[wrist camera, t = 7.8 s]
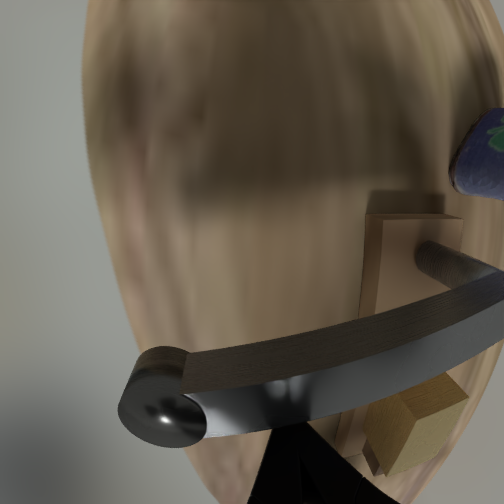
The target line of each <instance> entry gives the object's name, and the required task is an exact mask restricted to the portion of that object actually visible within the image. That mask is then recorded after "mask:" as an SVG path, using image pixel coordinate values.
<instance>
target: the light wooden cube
mask: <svg viewBox="0 0 504 504" xmlns="http://www.w3.org/2000/svg"><path fill="white" fill-rule="evenodd" d="M468 399H469V396H468V395H467V394H466V393H465V392H464V391H463V390H462V389H461V388H460V387H459V385H458V384H457V383H456V382H455V381H454V380H453V379H452V378H451V377H450V376H449V375H448V374H447V373H446V372H443V373H441V374H439V375H437V376H435V377H433V378H431V379H429V380H427V381H424V382H422V383H420V384H418V385H415V386H413V387H411V388H408V389H406V390H403V391H401V392H399V393H396V394H393V395H391V396H388V397H386V398H383V399H380V400H377V401H375V402H372V403H369V406H368V410H367V413H366V416H365V420H364V423H363V426H362V430H363V432H364V434H365V436H366V438H367V440H368V442H369V444H370V446H371V448H372V450H373V452H374V454H375V456H376V458H377V460H378V462H379V464H380V466H381V468H382V470H383V472H384V474H385V476H386V477H389V476H391V475H394V474H397V473H399V472H402V471H404V470H407V469H409V468H412V467H414V466H417V465H419V464H421V463H423V462H426V461H428V460H430V459H432V458H434V457H435V456H436V455H437V453H438V452H439V450H440V449H441V447H442V446H443V444H444V442H445V441H446V439H447V437H448V436H449V434H450V432H451V431H452V429H453V427H454V426H455V424H456V422H457V420H458V418H459V417H460V415H461V413H462V411H463V409H464V407H465V405H466V403H467V401H468Z"/></svg>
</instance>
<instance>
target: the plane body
mask: <svg viewBox="0 0 504 504" xmlns="http://www.w3.org/2000/svg"><path fill="white" fill-rule="evenodd" d="M462 228H463V219H461V218H457V217H454V216H450V215H446V214H366V222H365V246H364V262H363V275H362V287H361V297H360V306H359V315H358V319H360V318H364V317H367V316H371V315H374V314H378V313H381V312H385V311H388V310H391V309H394V308H398V307H401V306H404V305H407V304H410V303H413V302H416V301H419V300H422V299H425V298H428V297H431V296H434V295H437V294H440V293H442V292H445V291H448V290H451V289H450V288H448V287H446V286H445V285H443V284H441V283H440V282H438V281H436V280H435V279H433V278H431V277H429V276H428V275H426V274H424V273H423V272H421V271H419V269H418V268H417V265H416V255H417V252H418V250H419V248H420V246H421V245H422V244H423V243H425V242H426V241H434V242H437V243H439V244H442V245H444V246H447V247H449V248H452V249H454V250H457V251H459V252H460V247H461V239H462ZM368 406H369V404H366V405H363V406H360V407H357V408H354V409H350V410H347V411H344V412H342V413H341V417H340V422H339V426H338V430H337V434H336V438H335V441H334V443H335V446H336V448H337V451H338V453H339V454H340V455H341V456H342V457H343V458H346V457H350V456H354V455H358V454H362V453H363V454H364V456H365V458H366V461H367V463H368V465H369V467H370V469H371V472H372V474H373V476H377V475H380V474H383V473H384V472H383V470H382V468H381V466H380V464H379V462H378V460H377V458H376V456H375V454H374V452H373V450H372V448H371V446H370V444H369V442H368V440H367V438H366V436H365V434H364V432H363V430H362V426H363V423H364V420H365V416H366V413H367V410H368Z"/></svg>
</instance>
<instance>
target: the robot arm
mask: <svg viewBox="0 0 504 504" xmlns="http://www.w3.org/2000/svg"><path fill="white" fill-rule="evenodd" d="M362 477H363V475H362V474H361V473H359V472H358V471H357V470H356V469H355V468H354V467H353V466H352V465H351V464H350V463H349V462H347V461H346V460H345V459H344V458H343V457H342V456H341V455H340V454H339V453H338V452H337V451H336V450H335V449H334V448H333V447H332V446H331V445H329V444H328V443H327V442H326V441H325V440H324V439H323V438H322V437H321V436H320V435H319V434H318V433H317V432H316V431H315V430H314V429H313V428H312V427H311V426H310V425H309V424H308V423H307V422H303V423H298V424H294V425H289V426H284V427H279V428H274V429H272V430H271V434H270V437H269V440H268V443H267V446H266V450H265V453H264V456H263V459H262V462H261V465H260V468H259V471H258V474H257V477H256V480H255V483H254V485H253V488H252V491H251V494H250V497H249V499H248V502H247V504H400V503H399V502H397V501H395V500H394V499H392V498H391V497H389V496H388V495H386V494H385V493H383V492H382V491H381V490H379V489H378V488H377V487H376V486H374V485H373V484H372V483H371V482H370V481H369V480H367V479H366V478H365V477H363V478H362Z"/></svg>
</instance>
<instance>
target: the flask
mask: <svg viewBox="0 0 504 504" xmlns="http://www.w3.org/2000/svg"><path fill="white" fill-rule="evenodd" d="M449 169H450V171H449V177H450V182H451V184H452V186H453V181H454V183H455V184H454V189H455V190H456V191H457V192H459V193H461V194H464V195H471V196H481V197H486V198H494V199H499V200H503V201H504V108H490V109H488V110H485V111H484V113H483V114H481V115H480V117H479V118H477V119H476V120H475V121H474V124H473V125H472V126H471V129H470V131H469V132H468V133H467V135H466V136H465V138H464V140H463V141H462V144H461V145H460V147H459V149H458V150H457V152H456V154H455V155H454V157H453V160H452V164H451V166H450V168H449Z"/></svg>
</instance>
